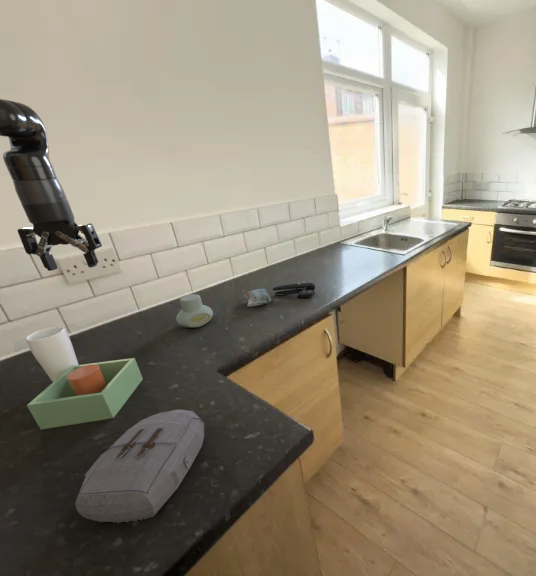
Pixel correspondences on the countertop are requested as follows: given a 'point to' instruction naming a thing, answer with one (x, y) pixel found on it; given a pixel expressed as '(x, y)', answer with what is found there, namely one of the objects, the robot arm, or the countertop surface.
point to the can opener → (304, 292)
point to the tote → (86, 396)
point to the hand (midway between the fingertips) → (73, 268)
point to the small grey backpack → (141, 468)
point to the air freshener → (193, 312)
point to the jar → (87, 380)
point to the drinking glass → (52, 350)
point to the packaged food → (257, 297)
